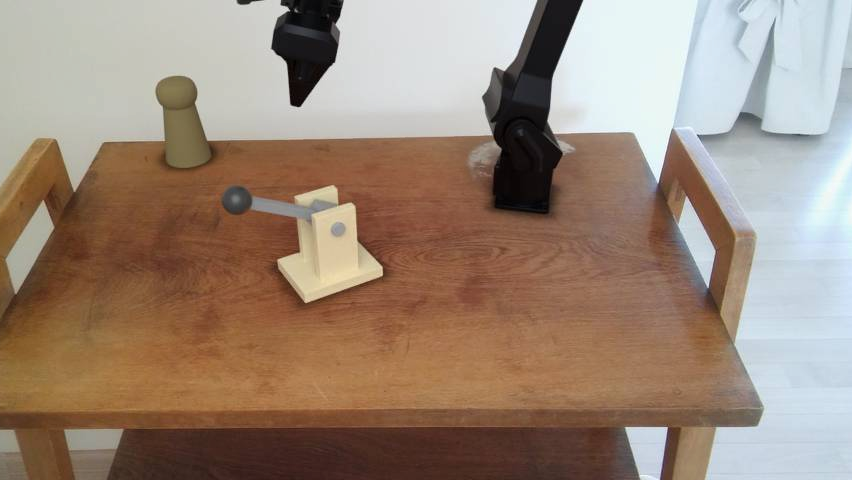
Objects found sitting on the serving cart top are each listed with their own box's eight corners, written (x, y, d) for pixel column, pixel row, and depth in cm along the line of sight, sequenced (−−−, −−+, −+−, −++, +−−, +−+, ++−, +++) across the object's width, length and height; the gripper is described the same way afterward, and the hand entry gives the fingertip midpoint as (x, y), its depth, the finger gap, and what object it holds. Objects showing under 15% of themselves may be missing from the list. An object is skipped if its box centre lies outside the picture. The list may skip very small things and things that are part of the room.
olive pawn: (216, 147, 106) (204, 70, 99) (204, 168, 101) (190, 89, 94) (174, 146, 106) (158, 69, 100) (159, 167, 101) (142, 88, 95)
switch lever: (223, 217, 70) (233, 190, 69) (213, 204, 72) (222, 177, 71) (338, 237, 78) (348, 212, 77) (326, 224, 80) (336, 200, 79)
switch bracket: (305, 303, 77) (297, 230, 72) (278, 268, 82) (269, 197, 77) (383, 276, 81) (381, 204, 76) (352, 244, 86) (348, 174, 81)
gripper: (254, -101, 81) (238, 39, 90) (225, -52, 66) (209, 110, 76) (357, -76, 83) (331, 60, 92) (352, -22, 68) (321, 133, 77)
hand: (299, 87), depth 84 cm, fingers open, 9 cm apart
